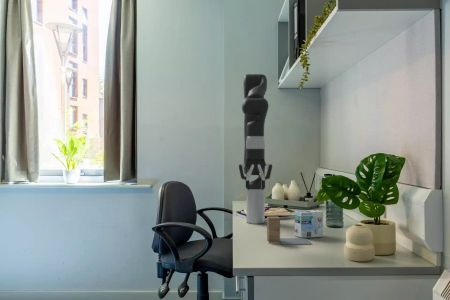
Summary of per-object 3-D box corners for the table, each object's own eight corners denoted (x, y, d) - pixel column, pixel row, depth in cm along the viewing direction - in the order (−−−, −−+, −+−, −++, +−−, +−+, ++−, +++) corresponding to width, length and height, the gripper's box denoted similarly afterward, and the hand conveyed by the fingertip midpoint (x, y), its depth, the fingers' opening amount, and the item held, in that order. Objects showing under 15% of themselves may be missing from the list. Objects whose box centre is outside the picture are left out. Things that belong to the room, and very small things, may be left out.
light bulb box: (301, 238, 169) (300, 212, 169) (294, 235, 175) (293, 210, 176) (324, 236, 171) (323, 211, 172) (316, 234, 178) (316, 209, 178)
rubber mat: (277, 239, 169) (277, 238, 169) (305, 238, 169) (305, 237, 169) (282, 244, 159) (282, 244, 159) (312, 244, 159) (312, 243, 159)
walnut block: (267, 240, 166) (267, 216, 165) (277, 240, 166) (277, 216, 166) (268, 243, 161) (268, 218, 161) (279, 243, 161) (280, 218, 161)
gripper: (271, 147, 167) (271, 188, 167) (236, 147, 166) (236, 188, 166) (274, 147, 159) (274, 190, 159) (238, 147, 159) (238, 190, 159)
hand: (255, 189), depth 163 cm, fingers open, 5 cm apart
